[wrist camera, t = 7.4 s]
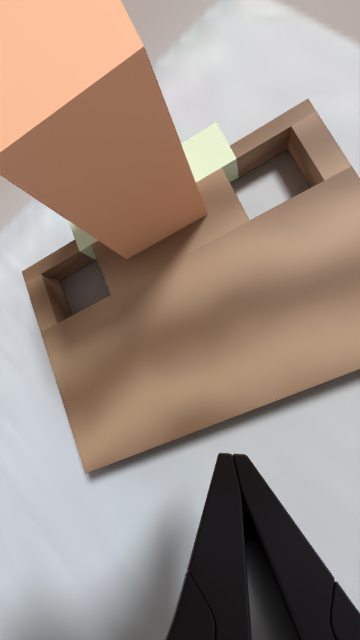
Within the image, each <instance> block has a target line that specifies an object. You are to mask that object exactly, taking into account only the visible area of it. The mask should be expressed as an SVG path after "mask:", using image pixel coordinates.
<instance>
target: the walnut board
mask: <svg viewBox="0 0 360 640" xmlns="http://www.w3.org/2000/svg"><path fill="white" fill-rule="evenodd" d="M230 148H231V149H232V151H233V153H234V155H235V157H236V159H237V167H238V176H239V177H241V176H243V175H244V174H246V173H248V172H250V171H251V170H253V169H255V168H256V167H258V166H260V165H262V164H263V163H265V162H267V161H269V160H270V159H272V158H274V157H276V156H277V155H279V154H281V153H283V152H284V151H286V150H288V151H289V152H290V154H291V156H292V157H293V159H294V161H295V162H296V164H297V166H298V167H299V169H300V171H301V172H302V174H303V176H304V177H305V179H306V181H307V182H308V184H309V186H310V187H311V188H310V189H308V190H306V191H304V192H302V193H300V194H298V195H297V196H295V197H293V198H291V199H289V200H287V201H285V202H283V203H282V204H280V205H278V206H276V207H274V208H272V209H270V210H268V211H267V212H265V213H263V214H261V215H259V216H257V217H255V218H254V219H252V220H249V218H248V216H247V214H246V213H245V211H244V209H243V207H242V205H241V203H240V201H239V199H238V197H237V195H236V194H235V192H234V190H233V188H232V186H231V184H230V182H229V180H228V178H227V176H226V175H225V173H224V171H223V169H222V167H221V168H220V169H218V170H216V171H215V172H213V173H211V174H210V175H208V176H206V177H205V178H203V179H201V180H199V181H198V182H196V185H197V187H198V190H199V192H200V195H201V198H202V200H203V203H204V206H205V208H206V211H207V213H208V214H207V215H205V216H204V217H202V218H200V219H198V220H196V221H195V222H193V223H191V224H189V225H187V226H186V227H184V228H182V229H180V230H178V231H177V232H175V233H173V234H171V235H170V236H168V237H166V238H164V239H162V240H161V241H159V242H157V243H155V244H153V245H152V246H150V247H148V248H146V249H144V250H143V251H141V252H139V253H137V254H135V255H134V256H132V257H130V258H128V259H125V258H124V257H122V256H121V255H119V254H118V253H116V252H115V251H113V250H112V249H110V248H109V247H107V246H106V245H104V244H103V243H101V242H100V241H96V242H95V243H93V244H91V245H92V248H93V251H94V253H95V256H96V259H97V261H98V264H99V266H100V269H101V272H102V274H103V277H104V280H105V282H106V285H107V287H108V290H109V293H110V296H108V297H106V298H104V299H102V300H100V301H98V302H96V303H95V304H93V305H91V306H89V307H87V308H85V309H83V310H82V311H80V312H78V313H76V314H74V315H72V314H71V311H70V308H69V305H68V302H67V299H66V297H65V294H64V291H63V288H62V285H61V282H60V280H62V279H63V278H65V277H67V276H69V275H70V274H72V273H74V272H76V271H77V270H79V269H81V268H82V267H84V266H86V265H88V264H89V263H91V262H93V261H95V259H93V258H91V257H89V256H87V255H85V254H84V253H82V252H80V251H79V248H78V246H77V243H76V240H73V241H72V242H70V243H69V244H67V245H65V246H64V247H62V248H60V249H59V250H57V251H55V252H54V253H52V254H50V255H49V256H47V257H45V258H44V259H42V260H40V261H39V262H37V263H35V264H34V265H32V266H30V267H29V268H27V269H26V270H24V271H22V274H23V277H24V280H25V283H26V287H27V290H28V293H29V296H30V299H31V302H32V306H33V309H34V312H35V315H36V318H37V321H38V325H39V328H40V331H41V334H42V337H43V340H44V344H45V347H46V350H47V353H48V356H49V359H50V363H51V366H52V369H53V372H54V375H55V379H56V382H57V385H58V388H59V391H60V394H61V398H62V401H63V404H64V407H65V410H66V413H67V417H68V420H69V423H70V426H71V429H72V432H73V436H74V439H75V442H76V445H77V448H78V451H79V455H80V458H81V461H82V464H83V467H84V471H85V474H86V473H88V472H91V471H93V470H96V469H99V468H101V467H104V466H107V465H109V464H112V463H114V462H117V461H120V460H122V459H125V458H128V457H130V456H133V455H135V454H138V453H141V452H143V451H146V450H149V449H151V448H154V447H156V446H159V445H162V444H164V443H167V442H170V441H172V440H175V439H177V438H180V437H183V436H185V435H188V434H191V433H193V432H196V431H198V430H201V429H204V428H206V427H209V426H211V425H214V424H217V423H219V422H222V421H225V420H227V419H230V418H232V417H235V416H238V415H240V414H243V413H246V412H248V411H251V410H253V409H256V408H259V407H261V406H264V405H267V404H269V403H272V402H274V401H277V400H280V399H282V398H285V397H288V396H290V395H293V394H295V393H298V392H301V391H303V390H306V389H309V388H311V387H314V386H316V385H319V384H322V383H324V382H327V381H330V380H332V379H335V378H337V377H340V376H343V375H345V374H348V373H351V372H353V371H356V370H358V369H360V178H359V177H358V175H357V173H356V172H355V170H354V169H353V167H352V166H351V164H350V163H349V161H348V160H347V158H346V156H345V155H344V153H343V152H342V150H341V149H340V147H339V146H338V144H337V143H336V141H335V139H334V138H333V136H332V135H331V133H330V132H329V130H328V129H327V127H326V126H325V124H324V122H323V121H322V119H321V118H320V116H319V115H318V113H317V112H316V110H315V109H314V107H313V105H312V104H311V102H310V101H309V99H307V100H305V101H303V102H302V103H300V104H298V105H297V106H295V107H293V108H292V109H290V110H288V111H287V112H285V113H283V114H282V115H280V116H278V117H277V118H275V119H274V120H272V121H270V122H269V123H267V124H265V125H264V126H262V127H260V128H259V129H257V130H255V131H254V132H252V133H250V134H249V135H247V136H245V137H244V138H242V139H240V140H239V141H237V142H235V143H234V144H232V145H231V146H230Z"/></svg>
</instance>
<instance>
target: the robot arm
mask: <svg viewBox="0 0 360 640" xmlns="http://www.w3.org/2000/svg"><path fill="white" fill-rule="evenodd" d="M165 640H360V613H359V611H358V610H357V609H356V607H355V606H354V604H353V603H352V602H351V600H350V599H349V598H348V596H347V595H346V593H345V592H344V591H343V589H342V588H341V586H340V585H339V584H338V582H336V581H335V582H334V577H333V575H332V574H331V573H330V571H329V570H328V568H327V567H326V566H325V564H324V563H323V561H322V560H321V559H320V557H319V556H318V554H317V553H316V552H315V550H314V549H313V547H312V546H311V545H310V543H309V542H308V540H307V539H306V538H305V536H304V535H303V533H302V532H301V531H300V529H299V528H298V526H297V525H296V524H295V522H294V521H293V519H292V518H291V517H290V515H289V514H288V512H287V511H286V510H285V508H284V507H283V505H282V504H281V503H280V501H279V500H278V498H277V497H276V496H275V494H274V493H273V491H272V490H271V489H270V487H269V486H268V484H267V483H266V482H265V480H264V479H263V477H262V476H261V475H260V473H259V472H258V470H257V469H256V468H255V466H254V465H253V463H252V462H251V461H250V459H249V458H248V456H247V455H245V454H233V455H232V454H229V453H219V454H218V457H217V461H216V465H215V468H214V472H213V476H212V480H211V483H210V487H209V491H208V494H207V498H206V502H205V505H204V509H203V513H202V516H201V520H200V524H199V527H198V531H197V535H196V539H195V542H194V546H193V550H192V553H191V557H190V561H189V564H188V568H187V573H186V575H185V578H184V582H183V586H182V590H181V593H180V596H179V600H178V603H177V606H176V609H175V613H174V616H173V619H172V622H171V625H170V628H169V630H168V633H167V636H166V639H165Z"/></svg>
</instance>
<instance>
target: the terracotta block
mask: <svg viewBox="0 0 360 640" xmlns="http://www.w3.org/2000/svg"><path fill="white" fill-rule="evenodd" d="M0 175H1V176H2V177H4V178H6V179H7V180H8V181H10V182H11V183H13V184H14V185H16V186H17V187H19V188H20V189H22V190H23V191H25V192H26V193H28V194H29V195H31V196H32V197H34V198H35V199H37V200H38V201H40V202H41V203H43V204H44V205H46V206H47V207H49V208H50V209H52V210H53V211H55V212H56V213H58V214H59V215H61V216H62V217H64V218H65V219H67V220H68V221H70V222H71V223H73V224H74V225H76V226H77V227H79V228H80V229H82V230H83V231H85V232H86V233H88V234H89V235H91V236H92V237H94V238H95V239H97V240H98V241H100V242H101V243H103V244H104V245H106V246H107V247H109V248H110V249H112V250H113V251H115V252H116V253H118V254H119V255H121V256H122V257H124V258H125V259H128V258H130V257H132V256H134V255H135V254H137V253H139V252H141V251H143V250H144V249H146V248H148V247H150V246H152V245H153V244H155V243H157V242H159V241H161V240H162V239H164V238H166V237H168V236H170V235H171V234H173V233H175V232H177V231H178V230H180V229H182V228H184V227H186V226H187V225H189V224H191V223H193V222H195V221H196V220H198V219H200V218H202V217H204V216H205V215H207V214H208V213H207V211H206V208H205V206H204V203H203V200H202V198H201V195H200V192H199V190H198V187H197V185H196V182H195V179H194V177H193V174H192V171H191V169H190V166H189V163H188V161H187V158H186V156H185V153H184V150H183V148H182V145H181V142H180V140H179V137H178V134H177V132H176V129H175V127H174V124H173V121H172V119H171V116H170V113H169V111H168V108H167V105H166V103H165V100H164V98H163V95H162V92H161V90H160V87H159V84H158V82H157V79H156V77H155V74H154V71H153V69H152V66H151V63H150V61H149V58H148V55H147V53H146V50H145V48H144V45H143V43H142V42H141V39H140V38H139V36H138V34H137V32H136V30H135V28H134V26H133V24H132V22H131V20H130V18H129V16H128V14H127V12H126V10H125V8H124V6H123V4H122V2H121V0H0Z"/></svg>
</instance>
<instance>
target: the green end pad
mask: <svg viewBox="0 0 360 640" xmlns="http://www.w3.org/2000/svg"><path fill="white" fill-rule="evenodd" d="M181 145H182V148H183V150H184V153H185V156H186V158H187V161H188V163H189V166H190V169H191V171H192V174H193V177H194V179H195V182H198V181H199V180H201V179H203V178H205V177H206V176H208V175H210V174H211V173H213V172H215V171H216V170H218V169H220V168H221V167H222V169H223V171H224V173H225V175H226V176H227V178H228V180H229V182H232V181H234V180H236V179H237V178H239V176H238V167H237V159H236V157H235V155H234V153H233V151H232V149H231V148H230V146H229V144H228V142H227V140H226V138H225V137H224V135H223V133H222V131H221V129H220V127H219V126H218V124H217V122H215V123H214V124H212V125H210V126H209V127H207V128H206V129H204V130H203V131H201V132H199V133H198V134H196V135H195V136H193V137H191V138H190V139H188V140H187V141H185V142H184V143H182V144H181ZM69 224H70V227H71V229H72V232H73V235H74V238H75V240H76V243H77V246H78V248H79V251H80V252H82V253H84V254H85V255H87V256H89V257H91V258H93V259H95V260H96V256H95V253H94V251H93V248H92V245H91V244H93V243H95V242H96V241H98V240H97V239H95V238H94V237H92V236H91V235H89V234H88V233H86V232H85V231H83V230H82V229H80V228H79V227H77V226H76V225H74V224H73V223H71V222H70V221H69Z"/></svg>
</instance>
